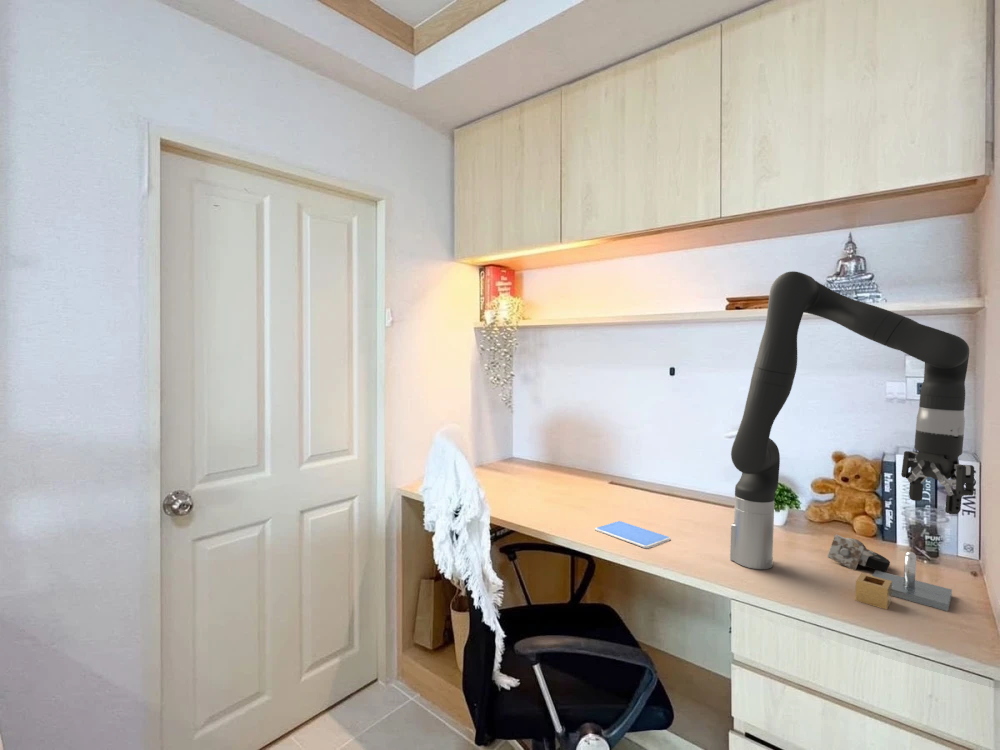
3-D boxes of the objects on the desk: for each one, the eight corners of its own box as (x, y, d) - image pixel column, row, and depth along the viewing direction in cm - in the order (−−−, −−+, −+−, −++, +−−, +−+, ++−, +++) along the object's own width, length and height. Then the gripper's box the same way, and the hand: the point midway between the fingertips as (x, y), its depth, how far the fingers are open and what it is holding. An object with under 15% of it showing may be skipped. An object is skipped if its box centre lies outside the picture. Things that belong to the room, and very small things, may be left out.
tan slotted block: (855, 600, 110) (856, 580, 110) (860, 592, 114) (861, 572, 114) (886, 609, 106) (887, 589, 106) (891, 600, 110) (891, 581, 110)
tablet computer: (593, 531, 154) (593, 527, 154) (619, 523, 162) (619, 519, 161) (646, 551, 139) (646, 546, 138) (672, 541, 146) (672, 537, 146)
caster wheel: (888, 577, 128) (875, 581, 122) (840, 554, 137) (826, 557, 131) (897, 554, 127) (884, 557, 121) (848, 532, 136) (834, 533, 130)
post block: (867, 588, 116) (869, 548, 116) (875, 576, 123) (876, 538, 123) (947, 611, 106) (949, 567, 106) (951, 595, 113) (953, 554, 113)
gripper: (893, 424, 110) (888, 496, 111) (953, 436, 96) (946, 518, 97) (926, 425, 110) (921, 496, 111) (991, 437, 96) (984, 518, 97)
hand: (933, 506), depth 104 cm, fingers open, 8 cm apart
